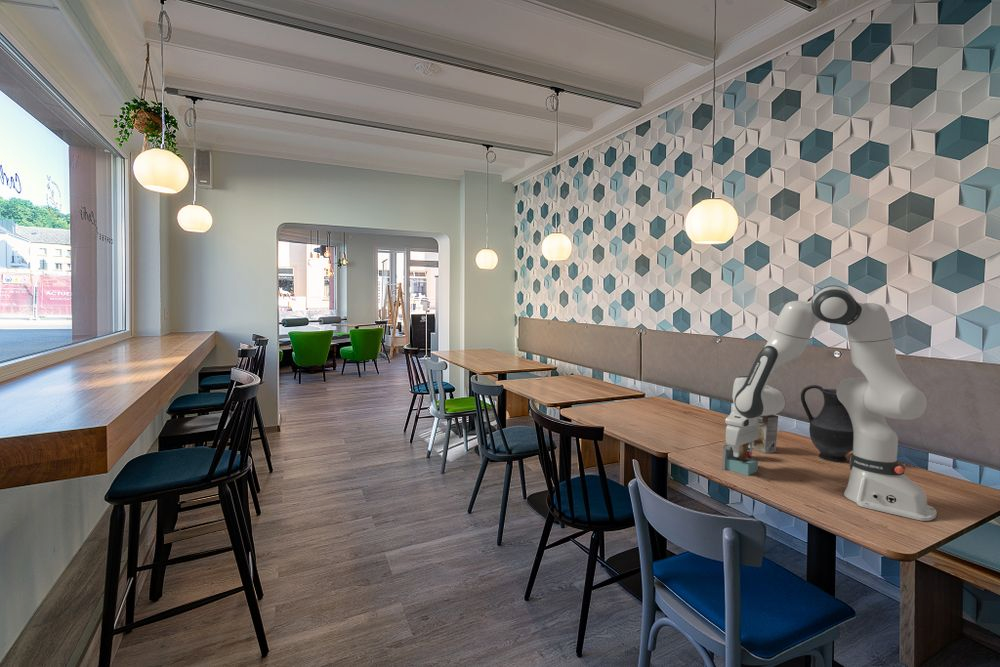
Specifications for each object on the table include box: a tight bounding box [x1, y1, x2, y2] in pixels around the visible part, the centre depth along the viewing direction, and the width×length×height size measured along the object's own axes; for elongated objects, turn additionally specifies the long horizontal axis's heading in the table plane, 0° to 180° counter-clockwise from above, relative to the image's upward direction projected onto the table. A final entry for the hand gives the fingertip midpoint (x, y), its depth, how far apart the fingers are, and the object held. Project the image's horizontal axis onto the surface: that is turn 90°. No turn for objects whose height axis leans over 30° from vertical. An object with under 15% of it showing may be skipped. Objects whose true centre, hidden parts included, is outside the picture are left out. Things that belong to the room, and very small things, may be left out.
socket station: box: [721, 444, 759, 476], centre depth 177 cm, size 9×10×9 cm
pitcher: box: [800, 384, 854, 463], centre depth 194 cm, size 17×21×30 cm
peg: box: [737, 443, 749, 462], centre depth 177 cm, size 3×3×10 cm
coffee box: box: [752, 414, 779, 454], centre depth 203 cm, size 9×6×16 cm
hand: (742, 454), depth 176 cm, fingers open, 8 cm apart
